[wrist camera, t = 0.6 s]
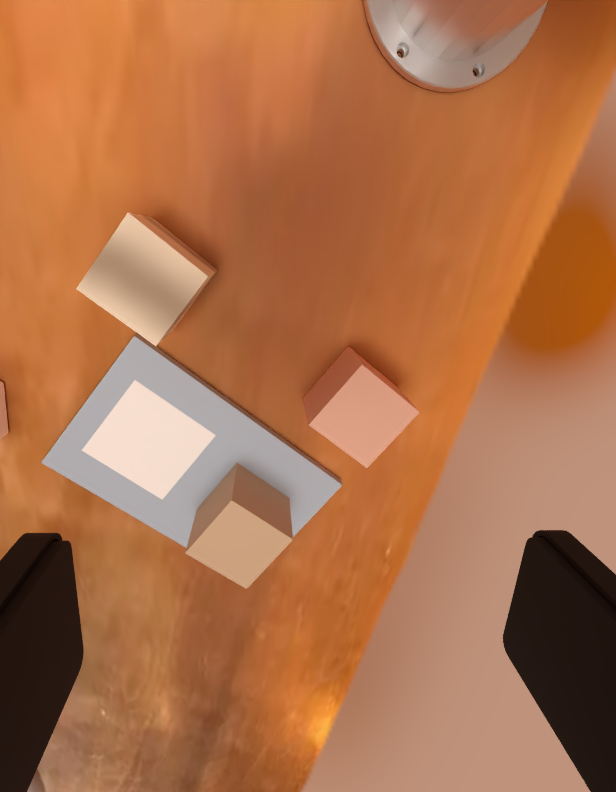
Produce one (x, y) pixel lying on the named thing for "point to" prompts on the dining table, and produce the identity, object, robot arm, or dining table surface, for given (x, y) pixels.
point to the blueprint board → (191, 464)
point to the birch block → (146, 277)
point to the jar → (3, 412)
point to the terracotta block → (357, 408)
